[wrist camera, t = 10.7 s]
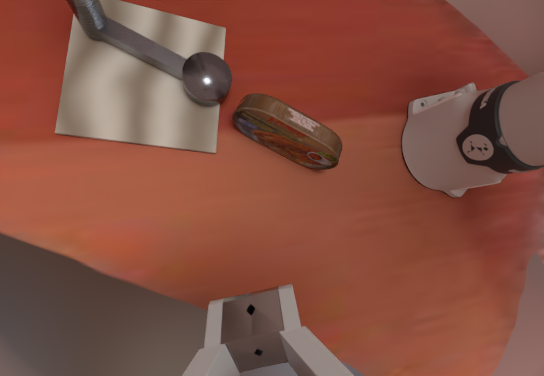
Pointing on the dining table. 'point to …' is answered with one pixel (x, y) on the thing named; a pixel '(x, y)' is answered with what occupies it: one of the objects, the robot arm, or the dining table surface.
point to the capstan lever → (158, 54)
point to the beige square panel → (137, 84)
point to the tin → (287, 131)
